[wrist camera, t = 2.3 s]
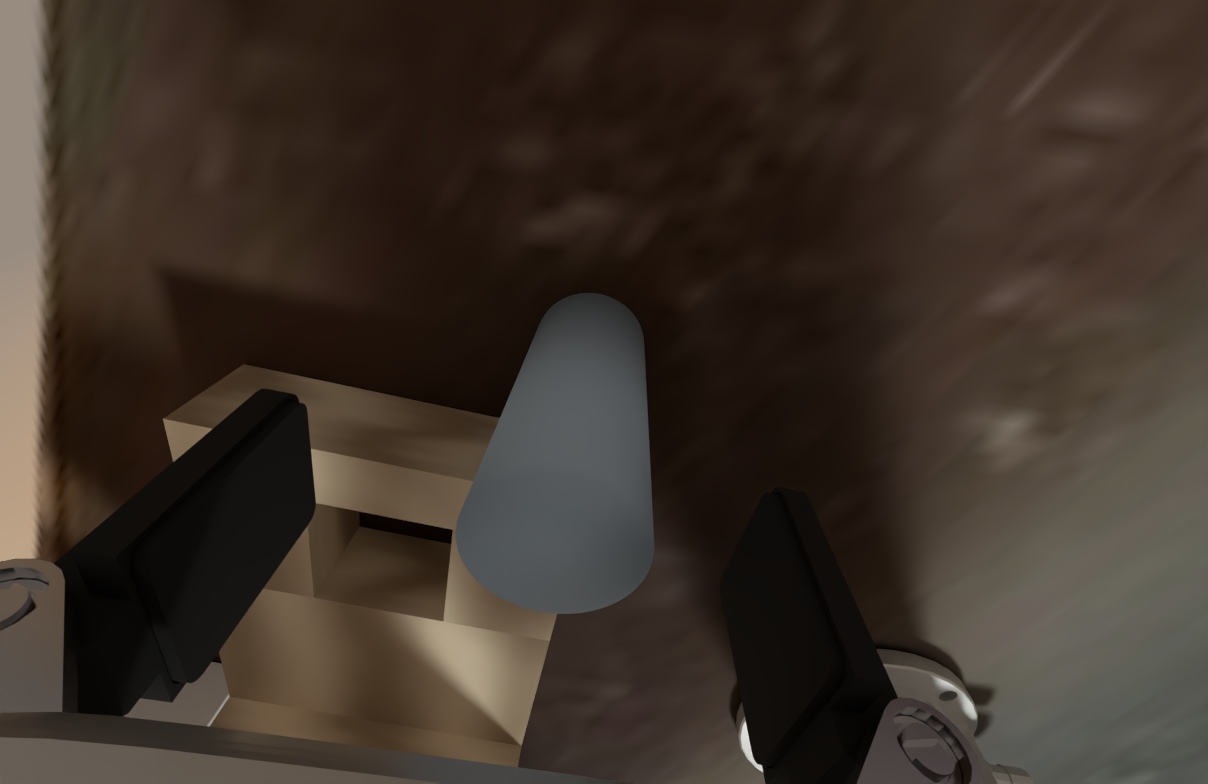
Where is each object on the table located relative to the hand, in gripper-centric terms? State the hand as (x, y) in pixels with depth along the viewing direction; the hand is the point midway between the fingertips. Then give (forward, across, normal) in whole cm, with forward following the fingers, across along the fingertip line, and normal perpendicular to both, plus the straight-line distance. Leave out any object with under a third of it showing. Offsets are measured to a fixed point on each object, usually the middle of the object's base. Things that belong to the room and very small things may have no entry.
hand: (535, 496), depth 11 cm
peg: (+9, -1, +1) cm, 9 cm away
